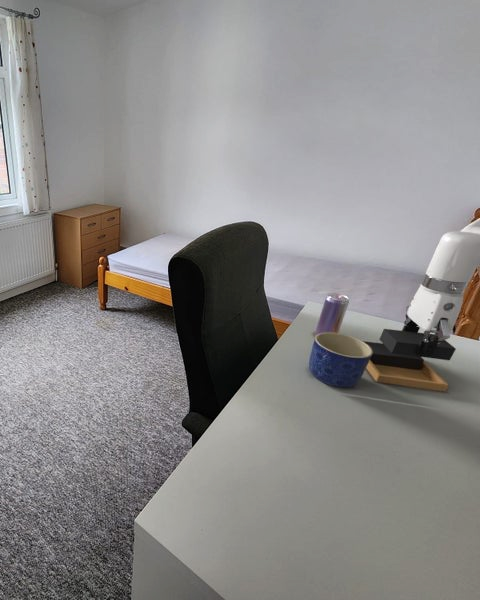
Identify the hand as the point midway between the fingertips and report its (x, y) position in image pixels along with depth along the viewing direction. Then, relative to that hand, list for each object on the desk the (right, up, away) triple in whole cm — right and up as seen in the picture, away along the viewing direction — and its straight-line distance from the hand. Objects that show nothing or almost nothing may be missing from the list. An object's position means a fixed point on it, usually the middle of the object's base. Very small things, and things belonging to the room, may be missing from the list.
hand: (414, 346), depth 89 cm
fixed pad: (+3, -5, +11) cm, 12 cm away
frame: (+1, -8, +7) cm, 11 cm away
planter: (-18, -9, +5) cm, 21 cm away
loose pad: (0, -1, 0) cm, 1 cm away
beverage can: (-7, -1, +23) cm, 24 cm away
